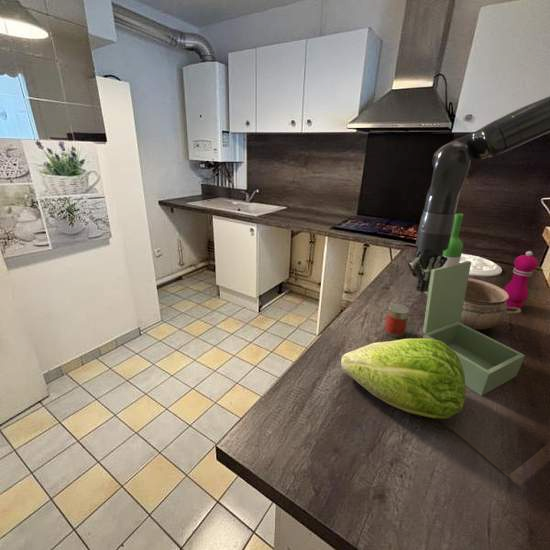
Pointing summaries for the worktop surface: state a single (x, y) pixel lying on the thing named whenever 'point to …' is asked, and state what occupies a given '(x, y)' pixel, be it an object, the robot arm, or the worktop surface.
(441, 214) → the robot arm
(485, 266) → the ceiling medallion
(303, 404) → the worktop surface
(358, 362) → the lettuce
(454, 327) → the bin
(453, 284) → the bin lid
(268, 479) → the worktop surface
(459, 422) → the worktop surface
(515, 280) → the pepper mill
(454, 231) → the wine bottle
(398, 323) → the jar
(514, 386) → the worktop surface
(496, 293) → the cooking pot
